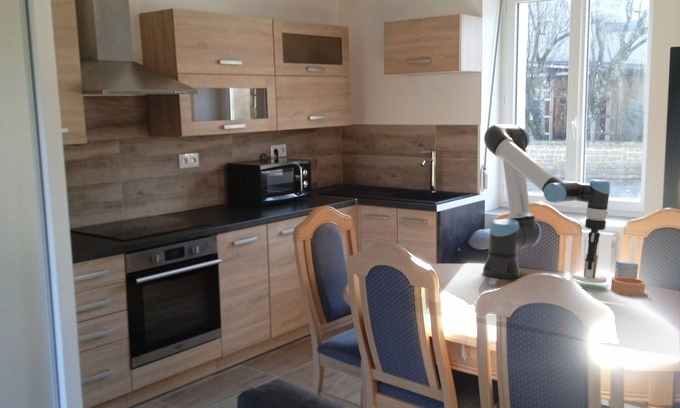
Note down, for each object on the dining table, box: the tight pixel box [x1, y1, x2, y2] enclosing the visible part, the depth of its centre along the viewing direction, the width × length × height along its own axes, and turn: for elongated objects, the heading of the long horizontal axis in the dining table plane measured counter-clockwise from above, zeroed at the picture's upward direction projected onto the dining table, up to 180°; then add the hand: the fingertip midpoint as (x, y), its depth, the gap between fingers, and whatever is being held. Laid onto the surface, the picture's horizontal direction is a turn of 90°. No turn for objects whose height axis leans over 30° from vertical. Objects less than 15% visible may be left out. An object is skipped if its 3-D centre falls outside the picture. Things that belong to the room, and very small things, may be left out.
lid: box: [571, 253, 607, 284], centre depth 278 cm, size 13×13×10 cm
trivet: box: [574, 280, 610, 293], centre depth 279 cm, size 13×13×1 cm
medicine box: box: [614, 260, 639, 279], centre depth 290 cm, size 8×4×9 cm, turn 84°
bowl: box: [610, 276, 646, 296], centre depth 272 cm, size 12×12×5 cm
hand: (589, 275), depth 279 cm, fingers closed on lid, 4 cm apart
